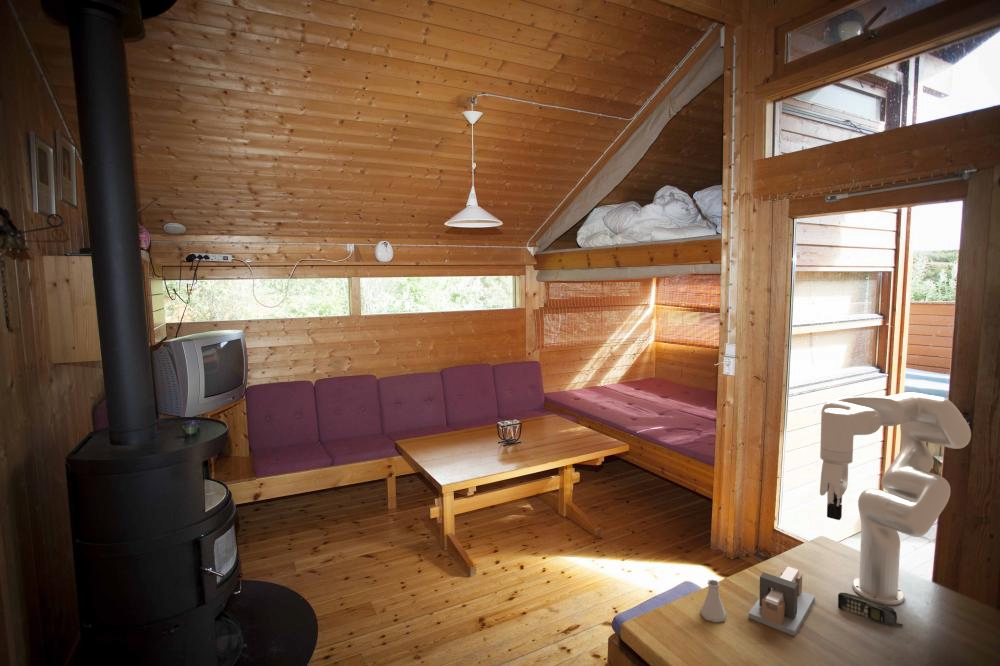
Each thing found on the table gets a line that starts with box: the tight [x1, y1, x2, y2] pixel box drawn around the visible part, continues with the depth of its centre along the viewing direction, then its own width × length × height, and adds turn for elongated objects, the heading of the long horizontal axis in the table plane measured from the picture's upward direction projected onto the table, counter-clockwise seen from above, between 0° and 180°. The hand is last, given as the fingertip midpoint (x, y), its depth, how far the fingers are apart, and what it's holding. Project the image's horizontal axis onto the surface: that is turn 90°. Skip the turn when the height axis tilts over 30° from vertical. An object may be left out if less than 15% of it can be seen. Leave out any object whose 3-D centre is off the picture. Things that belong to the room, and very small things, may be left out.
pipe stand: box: [748, 566, 816, 637], centre depth 155 cm, size 20×12×8 cm, turn 136°
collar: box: [759, 571, 798, 619], centre depth 152 cm, size 3×9×9 cm, turn 46°
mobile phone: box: [837, 592, 904, 628], centre depth 150 cm, size 5×3×15 cm
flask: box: [699, 579, 728, 623], centre depth 154 cm, size 7×7×10 cm
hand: (834, 517), depth 148 cm, fingers closed
